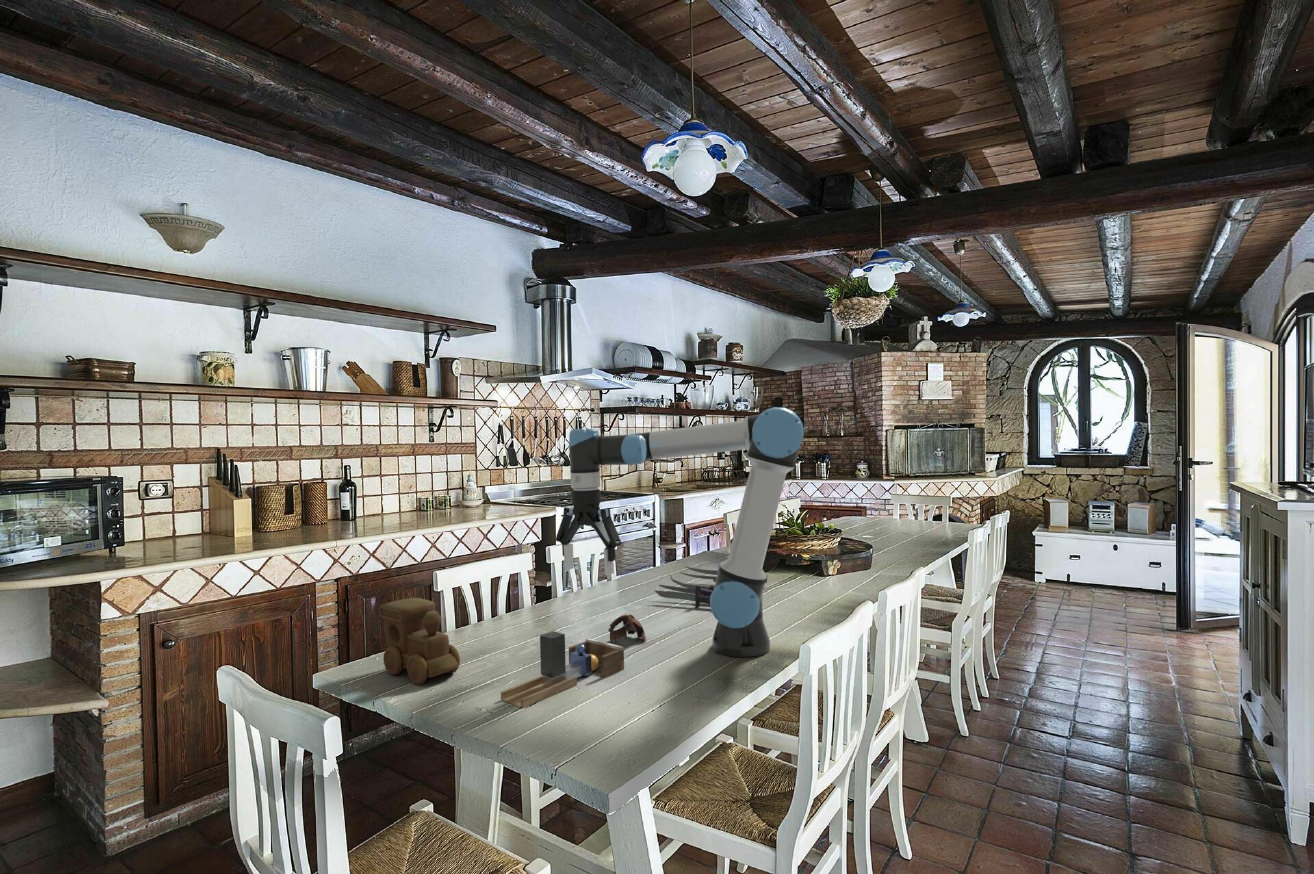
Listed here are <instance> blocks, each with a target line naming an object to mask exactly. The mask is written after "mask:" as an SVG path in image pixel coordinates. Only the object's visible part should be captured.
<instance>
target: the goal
mask: <svg viewBox="0 0 1314 874" xmlns="http://www.w3.org/2000/svg"><path fill="white" fill-rule="evenodd" d="M579 644H583V645H584V646H585V648H586V651H585V654H592V655H595V656H596V657H597V659H598V665H600V667H601V678H603V679H604V678H608V677H610V676H612V675H614V674H617V673H619V672H621V671H624V670H625V649H624V646H621V645H618V644H613V643H609V642H605V641H601V640H596V639H592V638H589V637H587V638H585V641H582V642H580V643H577V644H574V645H572V646H569V647H568V664H571V655H570V653H573V652H575V651H576V647H577V645H579Z"/></svg>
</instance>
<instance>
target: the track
mask: <svg viewBox="0 0 1314 874" xmlns="http://www.w3.org/2000/svg"><path fill="white" fill-rule="evenodd" d="M577 682H578V680H577V677H572V678H569V679H567V680H565V681H562V682H560V683H558V684H555V685H553V686H550V687H545V686H543V682H542V675H540V676H537V677H536V678H532V679H530V680H527V681H525V682H523V683H520V684H517V685H515V686H513V687H512V686H511V687H509V688H508V689H505V690H502V691H500V700H501V701H502V702H505V703H508V704H511V705H513V706H516V707H519V708H521V709H525V708H527V707H530V706H532V705H534V704H536V703H539V702H540V701H544V700H545V699H548V698H550V697H552V696H555V695H558V694H559V693H561V692H564V691H566V690H569V689H571V688H573V687H575V686H577V685H578V683H577Z"/></svg>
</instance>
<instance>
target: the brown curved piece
mask: <svg viewBox="0 0 1314 874" xmlns="http://www.w3.org/2000/svg"><path fill="white" fill-rule="evenodd" d="M621 623H622V625H623V626H621V627H619V628H617V629H615V628H616V627H617V626H618V625H620V624H621ZM607 630H608V632H609V640H610V642H612V641H613V642H614V641H616V640H620V639H622V638H626V639H628V635H634V634H636V635H637V638H638V637H639V638H641V639H642V643H643V642H645V643H646V642H647V638H646V634H645V629H644V628H643V626H642V623H640V621H639V620H637V619H636V617H635V616H634V615H632V614H623V615H620V616H619V617H617V618H615V619H614V620H613V621H611V623H610V624H609V628H608V629H607ZM639 638H638V639H639Z"/></svg>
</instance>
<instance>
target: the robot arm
mask: <svg viewBox="0 0 1314 874" xmlns="http://www.w3.org/2000/svg"><path fill="white" fill-rule="evenodd" d="M804 435H805V429H804V425H803V422H802V420H801V418H800V416H798V415H797V413H796V412H794V411H793V410H791V409H788V408H786V407H779V406H773V407H770V408H767V409H765V410H764V411H762V412H761V413H759V414H755V415H747V416H745V418H743V420H737V421H730V422H722V423H713V424H704V425H696V426H688V427H680V428H673V429H666V430H656V431H651V432H650V431H649V432H639V433H630V434H618V435H616V434H615V435H600V434H599V430H598V429H597V428H576V429H575V428H574V429H572V430H570V432H569V433H568V436H569V439H568V440H569V441H568V443H569V445H568V453H569V454H568V455H569V469H570V487H571V488H572V489H573V490H571V491H570V498H571V499H570V500H571V501H570V502H571V504H572V505H570V506H565V507H563V514H562V519H561V522H560V524H559V527H558V530H557V534H556V536H555V542H557V543H558V542H559V543H560V544H561V548H562V551H561V552H562V553H561V554H562V556H563V557H564V558H563V561H564V563H563V565H564V571H569V570H572V569H574V568H575V567H574V564H575V563H574V559H575V558H574V544H573V542H572V540H573V539H574V537H575V535H576V534H577V532H578V531H579V529H580V527H581V526H585V527H591V528H593V529H594V531H595V532H596V535H598V537H599V539H600V540H601V541H602V543H603V544H604V547H605V548H603V561H604V567H603V568H604V576H609V575H611V574H615V569H614V567H615V564H614V562H615V561H616V548H617V547H619V546H622V540H621V538H620V536H619V533H618V531H617V527H616V526H615V524H614V521H613V519H612V516H611V509H610V508H609V507H607V508H600V504H601V501H602V500H601V498H602V497H601V495H602V493H601V489H599V488H600V487H601V474H600V473H601V472H600V470H601V469H600V466H616V465H617V466H625V465H626V466H628V465H629V466H633V465H634V466H635V465H642V464H643V463H645V461H652V460H653V461H654V460H661V459H663V460H664V459H668V458H672V459H673V458H678V457H689V456H697V455H705V454H714V453H715V454H717V453H724V452H732V451H733V452H735V451H744V450H746V451H748V453H747V456H746V457H747V459H748V461H749V463H750V470H749V474H748V478H747V481H746V486H745V490H744V493H743V498H742V502H741V506H740V509H739V514H738V518H737V522H736V525H735V529H734V533H733V537H732V541H731V545H730V549H729V553H728V557H727V559H725V560H724V561H720V562H719V563H718V565H717V570H716V571H717V573H718V575H716V576H717V579H716V582H714V586H715V587H714V590H713V592H712V593H711V596H710V604H709V605H710V610H711V613H712V615H713V617H714V618H715V619H716V621H717V624H716V627H715V629H714V633H713V636H712V649H713V650H714V651H715V652H716V653H718V654H721V655H723V656H728V657H735V658H748V657H749V658H750V657H756V656H757V657H758V656H762V655H764V654H767V653H768V652H769V651H770V650H771V640H770V637H769V635H768V631H767V628H766V625H765V622H764V619H763V616H764V615H763V613H764V612H763V610H764V609H763V605H764V604H763V592H764V588H765V585H766V583H765V581H766V575H767V574H766V573H765V571H764V569H763V567H764V562H765V559H766V555H767V550H768V546H769V544H770V543H769V542H770V539H771V534H772V531H773V528H774V523H775V520H776V515H777V511H778V508H779V504H780V501H781V495H782V491H783V488H784V484H785V481H786V477H787V474H788V473H789V472H791V471H792V470H794V469H795V467H796V463H797V459H798V457H799V451H800V449H801V448H800V447H801V445H802V443H803V440H804ZM573 516H574V517H573Z"/></svg>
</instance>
